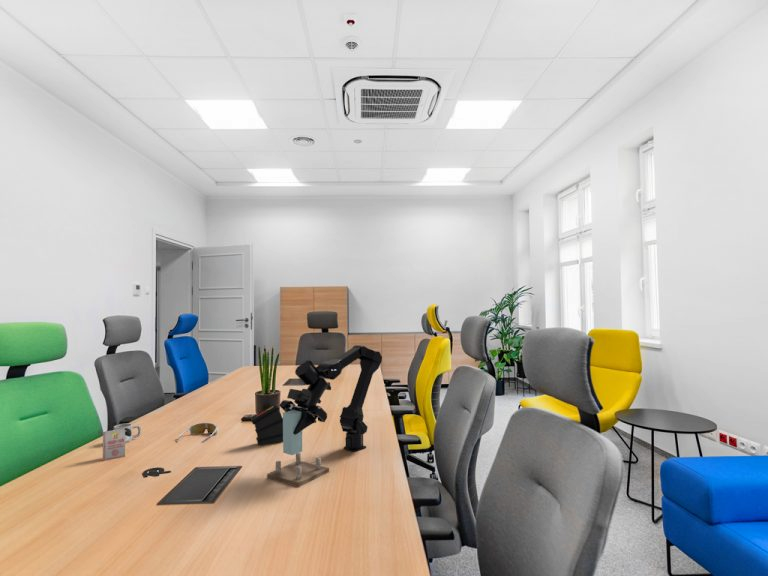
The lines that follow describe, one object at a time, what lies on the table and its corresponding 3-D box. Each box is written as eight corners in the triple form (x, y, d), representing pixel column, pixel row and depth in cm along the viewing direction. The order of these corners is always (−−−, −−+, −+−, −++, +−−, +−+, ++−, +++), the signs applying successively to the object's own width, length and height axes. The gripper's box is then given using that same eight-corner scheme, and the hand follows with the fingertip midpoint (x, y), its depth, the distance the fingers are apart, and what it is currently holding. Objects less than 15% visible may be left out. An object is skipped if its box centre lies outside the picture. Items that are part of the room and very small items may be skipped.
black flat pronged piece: (175, 471, 144) (175, 469, 144) (156, 480, 137) (156, 478, 137) (153, 468, 147) (153, 466, 147) (134, 477, 140) (134, 474, 140)
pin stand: (298, 463, 148) (298, 450, 149) (328, 471, 141) (328, 457, 141) (267, 477, 137) (267, 462, 137) (299, 486, 129) (299, 471, 129)
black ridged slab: (293, 436, 175) (277, 404, 173) (263, 455, 170) (246, 422, 168) (291, 434, 178) (275, 403, 176) (262, 452, 173) (245, 420, 171)
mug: (114, 445, 173) (115, 428, 173) (112, 441, 178) (112, 425, 178) (142, 440, 179) (142, 424, 180) (139, 436, 184) (139, 421, 185)
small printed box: (102, 458, 158) (103, 430, 158) (123, 454, 162) (124, 427, 162) (103, 460, 155) (103, 433, 155) (125, 456, 159) (125, 429, 159)
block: (293, 448, 143) (293, 410, 144) (302, 451, 141) (301, 411, 141) (283, 452, 140) (282, 412, 140) (291, 455, 137) (291, 414, 138)
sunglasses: (222, 432, 188) (221, 422, 188) (205, 448, 173) (204, 437, 173) (192, 432, 190) (191, 421, 189) (173, 448, 175) (172, 436, 174)
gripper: (283, 376, 150) (257, 415, 141) (320, 381, 139) (294, 423, 130) (300, 395, 156) (276, 433, 147) (337, 401, 145) (314, 442, 136)
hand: (289, 432), depth 140 cm, fingers closed on block, 4 cm apart
